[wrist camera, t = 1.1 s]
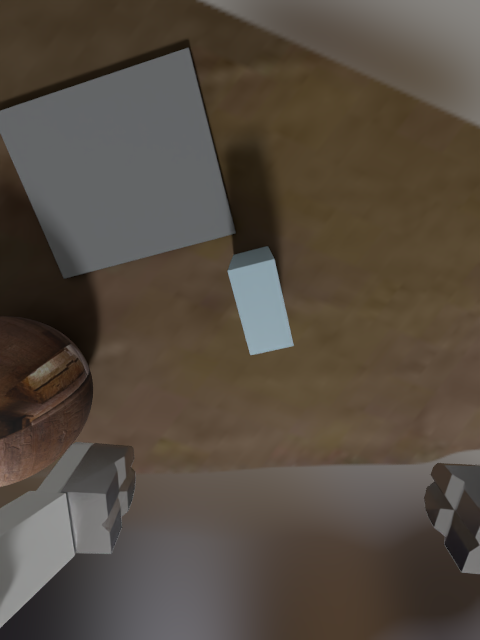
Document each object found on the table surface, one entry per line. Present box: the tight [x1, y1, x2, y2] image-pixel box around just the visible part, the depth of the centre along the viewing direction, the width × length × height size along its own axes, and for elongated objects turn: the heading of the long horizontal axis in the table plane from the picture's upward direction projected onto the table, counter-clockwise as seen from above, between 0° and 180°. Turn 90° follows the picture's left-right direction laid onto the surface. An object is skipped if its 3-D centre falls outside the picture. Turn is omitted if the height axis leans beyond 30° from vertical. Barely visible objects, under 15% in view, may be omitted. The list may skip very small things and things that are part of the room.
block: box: [228, 246, 294, 355], centre depth 28 cm, size 4×7×9 cm, turn 14°
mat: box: [0, 48, 236, 279], centre depth 29 cm, size 18×15×1 cm
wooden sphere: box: [0, 316, 93, 487], centre depth 29 cm, size 15×15×15 cm
